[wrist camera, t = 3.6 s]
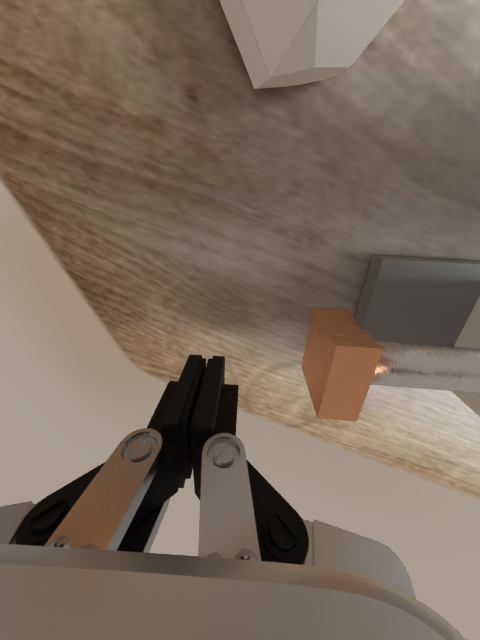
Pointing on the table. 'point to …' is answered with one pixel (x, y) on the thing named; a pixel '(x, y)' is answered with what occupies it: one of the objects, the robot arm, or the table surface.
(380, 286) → the bearing base
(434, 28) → the table surface
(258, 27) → the crystal
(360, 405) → the shaft
